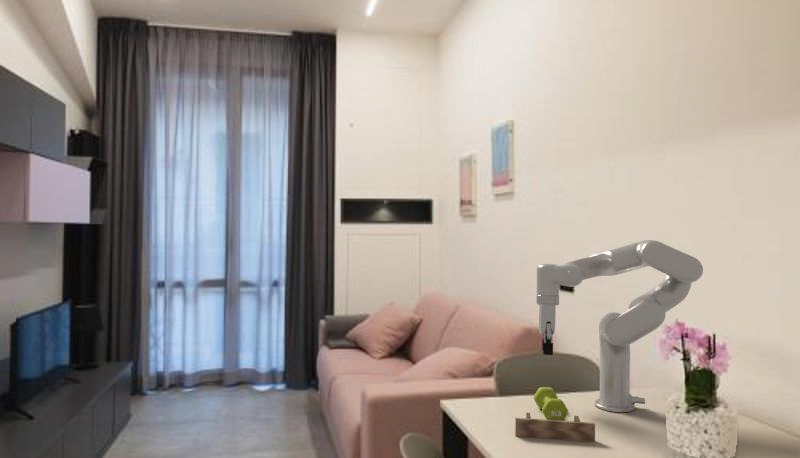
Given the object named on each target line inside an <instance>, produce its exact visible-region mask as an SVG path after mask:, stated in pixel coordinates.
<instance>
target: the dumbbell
mask: <svg viewBox="0 0 800 458" xmlns="http://www.w3.org/2000/svg"><path fill="white" fill-rule="evenodd" d="M533 400H534V402H535V404H536V406H537V407H538V408H539V410H541V409H542V410H541V412H542V414H543V416H544V417H545V420H559V421H565V419H566V417H567V416H568V414H569V410H568V408H567V405H566V404H565V402H564V401H563V400H562V399H560V398H559V397H558V395H557V393H556V392H555V390H554V388H552V387H547V386H541V387H538V389H537V390H536V392H535V394H534V395H533Z"/></svg>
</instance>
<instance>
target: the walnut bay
mask: <svg viewBox="0 0 800 458" xmlns="http://www.w3.org/2000/svg"><path fill="white" fill-rule="evenodd" d="M514 424H515V427H514V428H515V432H514V434H515V437H520V438H521V437H522V438H534V439H535V438H536V439H550V440H561V441H562V440H563V441H576V442H577V441H578V442H592V443H595V442H596V423H595V422H585V421H581V420H580V417H579V415H573V420H564V421H559V420H547V419H543V418H541V419H540V418H532V417H531V412H525V417H515V423H514Z"/></svg>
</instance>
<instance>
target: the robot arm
mask: <svg viewBox="0 0 800 458" xmlns="http://www.w3.org/2000/svg"><path fill="white" fill-rule="evenodd" d="M646 267H651V268H653V269H654V270H657V271H659V272H660V273H663V274H665V277H664V279H663V280H662V281H661V282H660V283H659V284H657V285H656V286H655V287H653V288H652V289H650V290H649V291H647V292H645V293H643V294H642V295H639V296H637V297H636V298H634V299H633V300H632V301H631V302H630V303H629V306H628V309H627V310H626V311H624V312H623V313H619V312H615V311H613V312H608V313H606V314H605V315H603V316H602V318H601V319H600V321H599V325H598V335H599V336H598V337H599V398H597V399H595V400H594V405H595V407H596V408H598V409H601V410H604V411H608V412H613V413H628V412H632V411H634V410H635V406H636V404H639V405H645V404H646V398H645V397H640V396H638V395H635V396H633V395H632V393H630V392H631V387H630V386H631V346H630V345H632V344H633V343H635V342H637V341H639V340H640V339H642V338H643V337H646V336H648V335H649V334H650V333H652V332H654V331H655V330H657V329H658V328H660V327H661V325H663V323H664V322H665V319H666V316H667V315H666V314H667V312H669V311H670V310H672V309H673V308H675V307H676V306H678V305H679V304H681V303H682V301H684V300H685V299H686V297H687V296H688V294H689V293H690V291H691V287H692V284H693V283H695V282H697V281H699V279H700V278H701V277H702V275H703V273H704V268H703V265H702V262H701V261H700V260H699V259H698V258H697V257H695V256H692V255H690V254H688V253H685V252H683V251H680V250H678V249H676V248H673V247H672V246H669V245H668V244H665V243H663V242H661V241H657V240H655V239H654V240H653V239H646V240H641V241H638V242H634V243H631V244H627V245H624V246H620V247H617V248H613V249H610V250H607V251H603V252H599V253H597V254H593V255H590V256H586V257H582V258H579V259H575V260H572V261H569V262H566V263H563V264H562V265H558V264H554V263H540V264H538V265H537V267H536V305H538V306H539V309H538V312H539V313H538V330H539V334H540V335H542V340H541V341H542V342H541V343H542V344H541V345H542V346H541V347H542V349H541V350H542V354H543V355H545V356H553V355H554V343H553V335H554V334H555V332H556V314H557V313H556V308H557V307H556V306H559V305H560V286H563V287H564V286H565V287H572V288H573V287H577V286H579V285H580V284H582V282H583V281H585V280H588V279H592V278H597V277H605V276H606V277H607V276H608V277H610V276H611V277H612V276H617V275H621V274H625V273H628V272H632V271H636V270H638V269H643V268H646Z"/></svg>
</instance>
